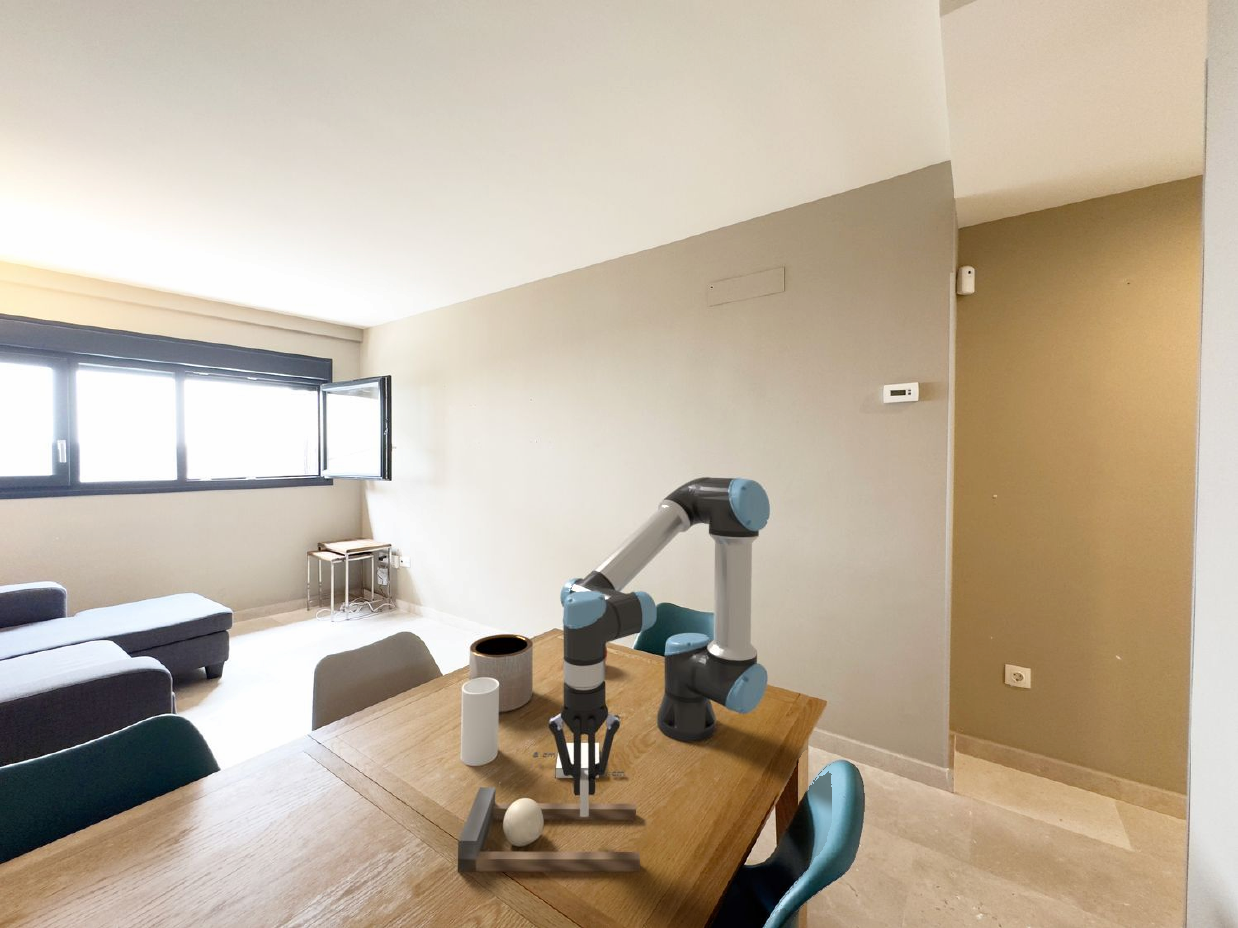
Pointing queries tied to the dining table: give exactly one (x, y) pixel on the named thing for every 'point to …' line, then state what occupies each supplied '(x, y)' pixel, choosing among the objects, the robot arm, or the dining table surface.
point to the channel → (539, 861)
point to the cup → (479, 721)
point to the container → (584, 759)
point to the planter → (505, 667)
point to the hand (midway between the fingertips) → (584, 810)
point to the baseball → (523, 822)
